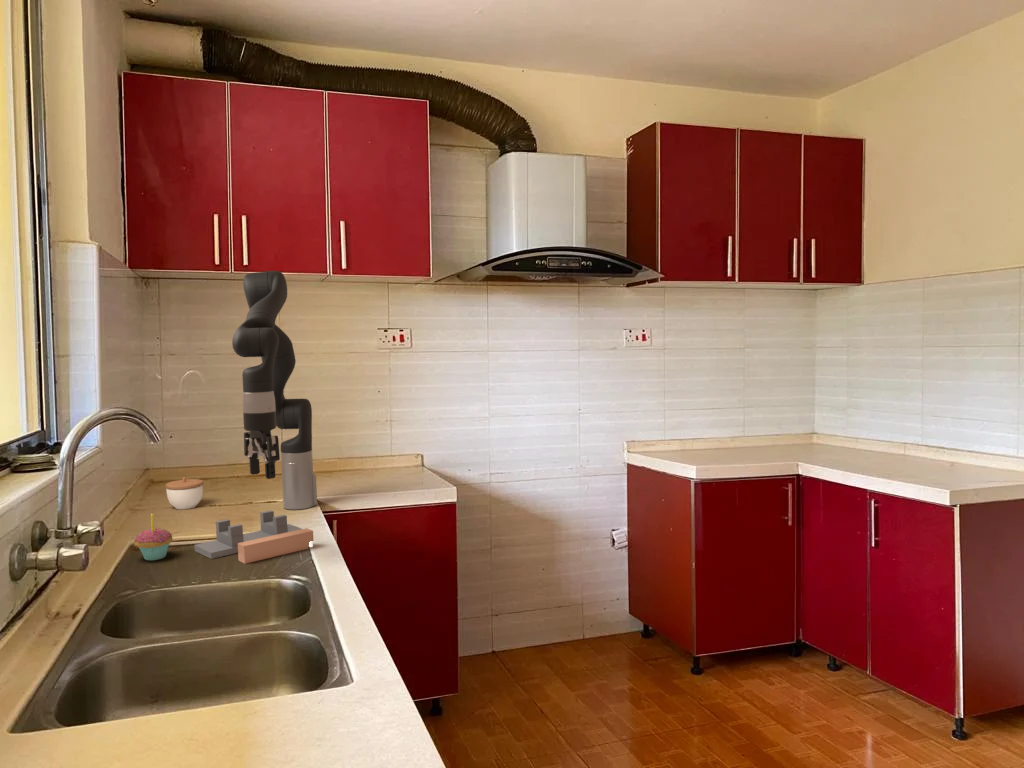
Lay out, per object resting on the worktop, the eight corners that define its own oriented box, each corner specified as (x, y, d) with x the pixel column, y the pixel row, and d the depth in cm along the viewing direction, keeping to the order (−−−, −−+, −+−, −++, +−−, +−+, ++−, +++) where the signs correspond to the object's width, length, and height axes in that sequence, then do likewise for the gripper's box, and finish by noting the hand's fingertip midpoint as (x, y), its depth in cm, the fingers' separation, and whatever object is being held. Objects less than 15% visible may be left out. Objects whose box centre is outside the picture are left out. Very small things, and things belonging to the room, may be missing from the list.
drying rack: (289, 529, 213) (288, 506, 212) (308, 536, 206) (307, 512, 205) (194, 550, 195) (193, 525, 194) (211, 559, 188) (209, 532, 187)
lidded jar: (210, 506, 242) (208, 476, 241) (175, 513, 234) (173, 482, 233) (195, 501, 249) (194, 472, 249) (161, 507, 242) (159, 477, 241)
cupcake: (175, 559, 188) (172, 510, 187) (136, 565, 184) (133, 515, 183) (171, 550, 196) (168, 503, 195) (134, 556, 192) (130, 508, 191)
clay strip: (307, 545, 198) (306, 528, 198) (313, 548, 196) (313, 530, 195) (238, 561, 186) (237, 543, 186) (244, 564, 184) (243, 546, 183)
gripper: (287, 410, 186) (290, 477, 187) (261, 407, 196) (264, 470, 198) (257, 413, 181) (260, 482, 182) (232, 409, 191) (235, 474, 193)
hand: (262, 476), depth 190 cm, fingers open, 8 cm apart
